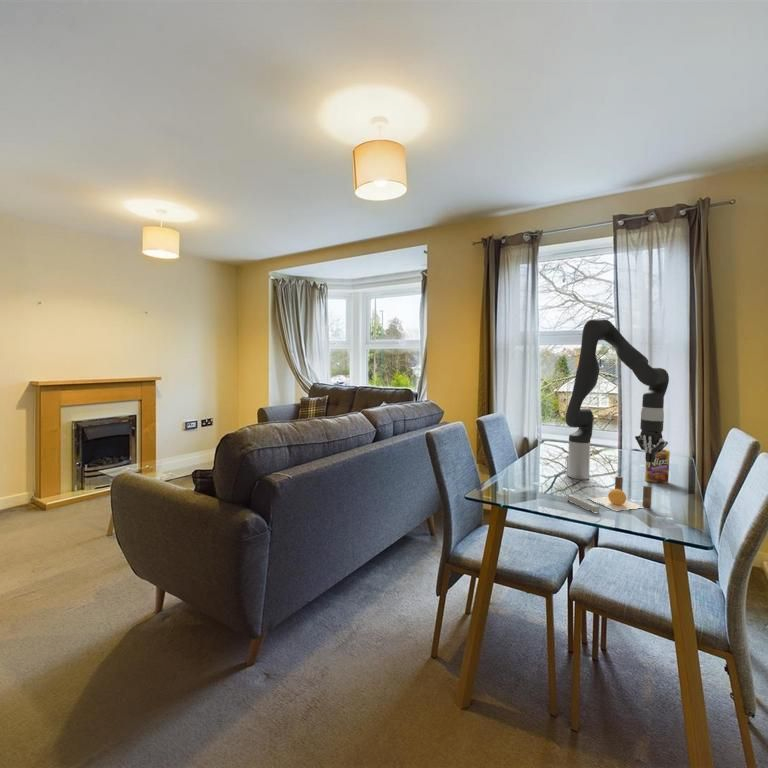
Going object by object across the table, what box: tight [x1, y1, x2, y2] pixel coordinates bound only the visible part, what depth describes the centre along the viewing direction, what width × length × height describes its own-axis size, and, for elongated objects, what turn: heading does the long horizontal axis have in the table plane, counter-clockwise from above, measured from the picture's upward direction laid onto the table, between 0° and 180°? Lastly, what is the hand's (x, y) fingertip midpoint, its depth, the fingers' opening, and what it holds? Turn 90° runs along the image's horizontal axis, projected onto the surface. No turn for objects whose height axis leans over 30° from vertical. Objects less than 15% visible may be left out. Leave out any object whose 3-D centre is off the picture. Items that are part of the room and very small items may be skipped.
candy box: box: [644, 448, 671, 484], centre depth 189 cm, size 9×4×15 cm, turn 60°
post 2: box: [642, 485, 652, 509], centre depth 154 cm, size 3×3×8 cm
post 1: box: [614, 475, 624, 491], centre depth 167 cm, size 3×3×8 cm
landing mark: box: [589, 496, 645, 512], centre depth 159 cm, size 14×14×1 cm
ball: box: [607, 488, 627, 505], centre depth 157 cm, size 6×6×6 cm
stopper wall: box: [567, 494, 600, 513], centre depth 155 cm, size 14×2×2 cm, turn 15°
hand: (649, 462), depth 162 cm, fingers closed
